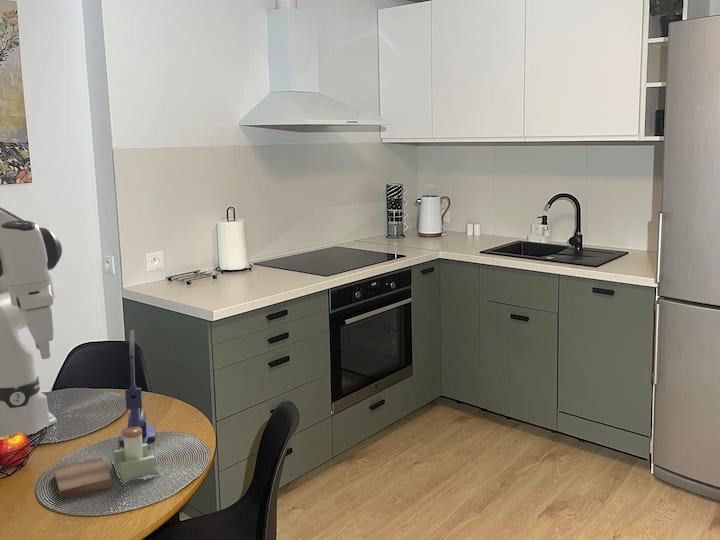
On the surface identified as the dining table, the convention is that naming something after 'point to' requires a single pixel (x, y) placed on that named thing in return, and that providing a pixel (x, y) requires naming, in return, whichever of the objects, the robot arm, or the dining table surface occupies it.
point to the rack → (134, 465)
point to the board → (82, 478)
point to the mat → (138, 480)
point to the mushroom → (133, 443)
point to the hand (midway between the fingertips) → (43, 353)
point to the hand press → (136, 403)
